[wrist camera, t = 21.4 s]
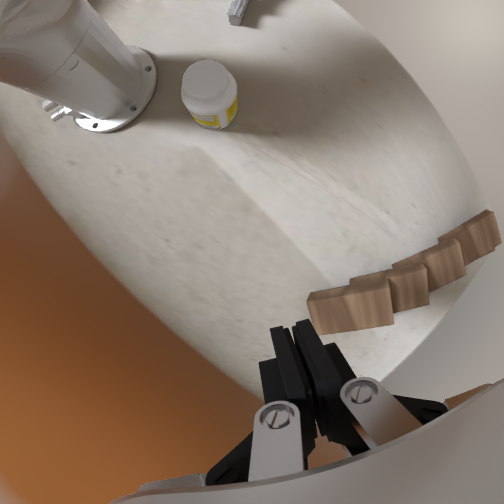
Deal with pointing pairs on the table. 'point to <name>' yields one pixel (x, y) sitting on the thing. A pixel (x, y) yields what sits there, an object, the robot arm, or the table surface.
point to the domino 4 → (475, 236)
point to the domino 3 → (439, 263)
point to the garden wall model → (237, 11)
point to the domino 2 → (402, 285)
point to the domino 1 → (351, 307)
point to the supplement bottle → (210, 94)
